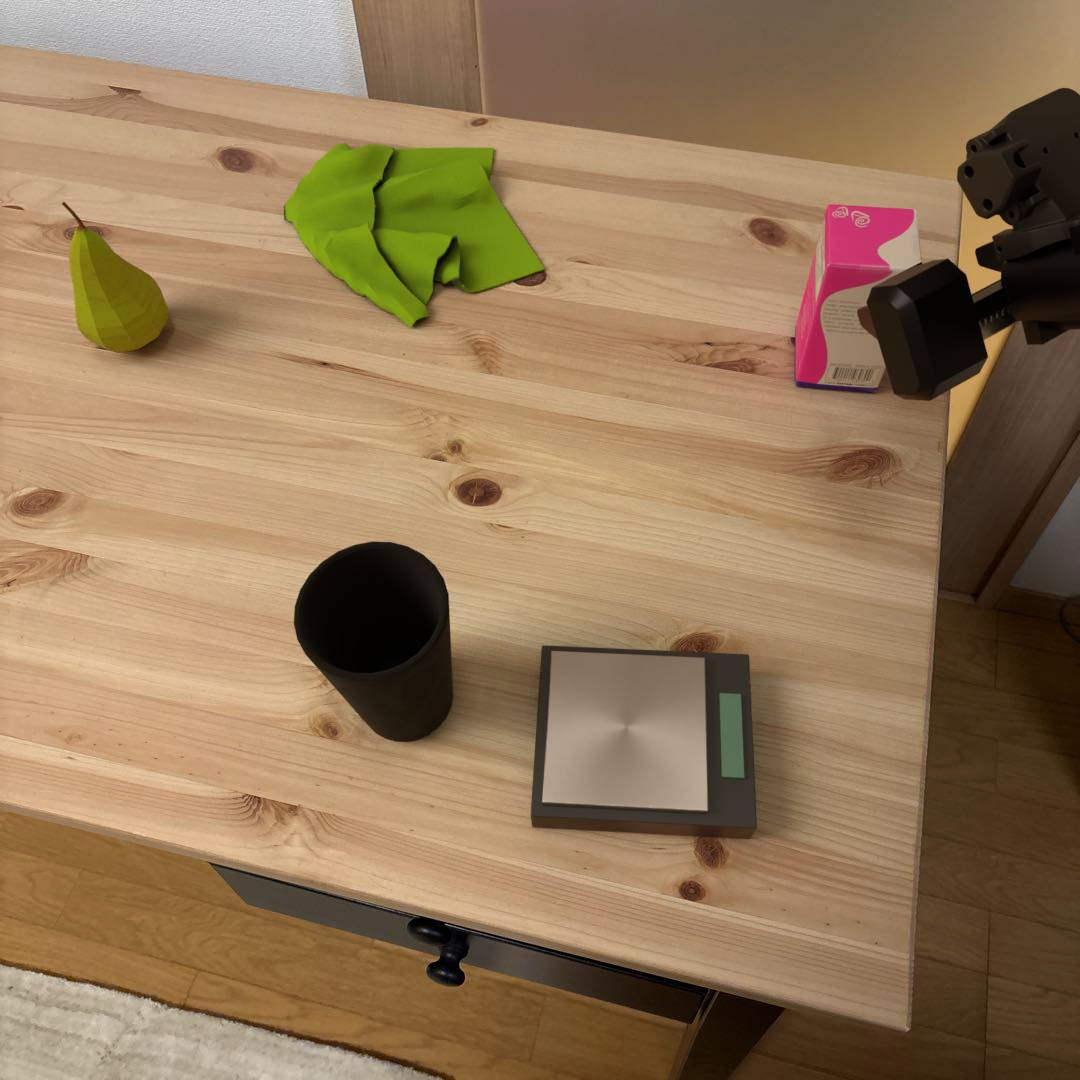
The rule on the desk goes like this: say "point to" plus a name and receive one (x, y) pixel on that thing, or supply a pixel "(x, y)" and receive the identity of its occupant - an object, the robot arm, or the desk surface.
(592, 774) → the scale
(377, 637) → the cup
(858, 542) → the desk surface
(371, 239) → the cloth
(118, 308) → the fruit
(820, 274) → the supplement box
